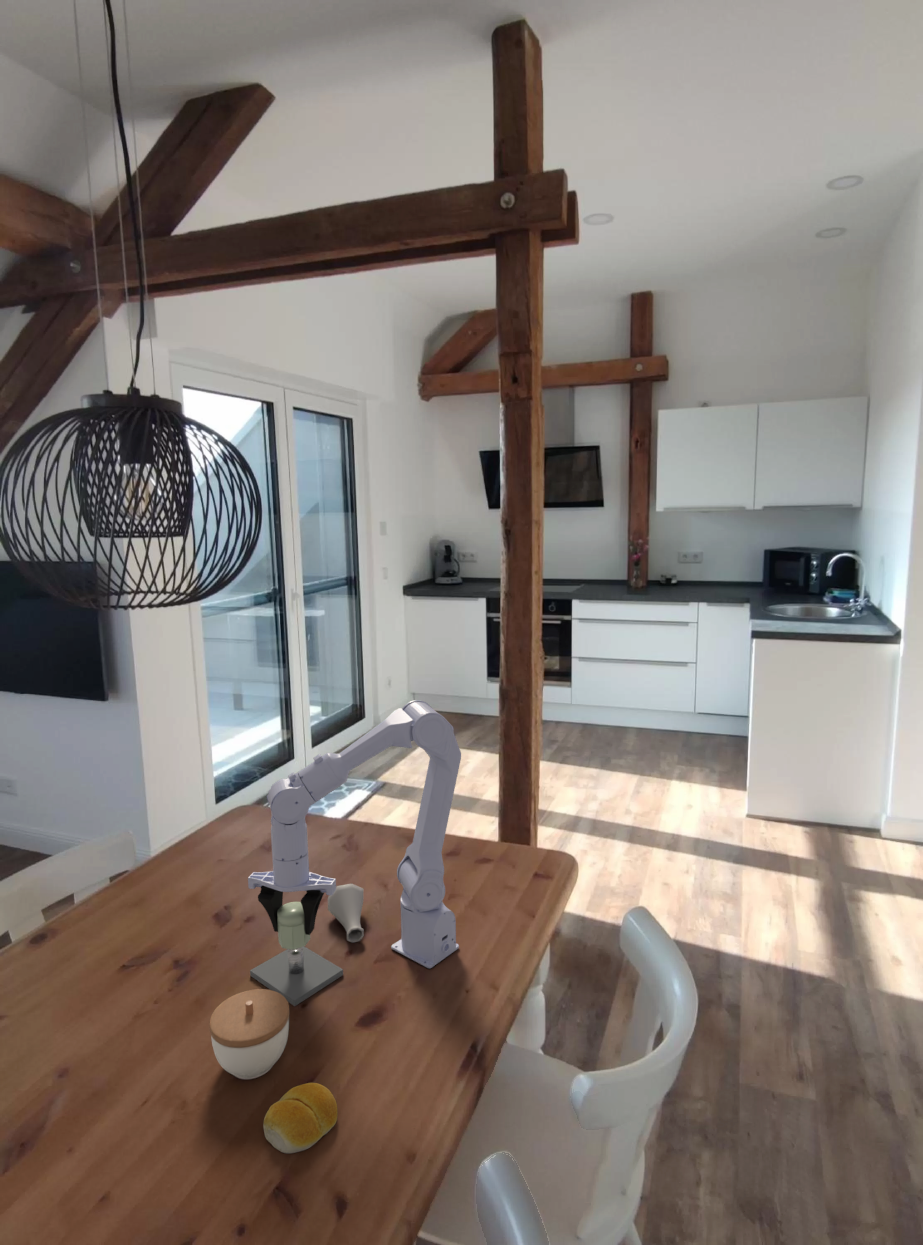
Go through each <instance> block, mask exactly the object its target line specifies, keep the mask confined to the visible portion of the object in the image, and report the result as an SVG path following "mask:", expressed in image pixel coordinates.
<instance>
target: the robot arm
mask: <svg viewBox="0 0 923 1245" xmlns="http://www.w3.org/2000/svg"><path fill="white" fill-rule="evenodd" d="M412 742H414V743H415V744H416V745H417V746H418V747H419V748H421V749H422V750H424V752H425V753H426V755H427V756H428V757H429V762H428V766H427V771H426V776H425V781H424V785H423V791H422V794H421V801H420V806H419V808H418V809H419V810H418V815H417V819H416V824H415V830H414V834H413V839H412V843H410V844H409V845H408V846H407V847H406V849H405V854H404V857H403V858H402V860H401V861H400V863H399V864H398V866H397V869H396V877H397V879H398V882H399V883H400V884H401V885H402V888H403V889H402V892H401V895H400V927H401V928H400V932H401V934H400V935H401V938H400V939H399V940H398V941H396V942H394V943H392V945H391V946H390V947H391V948H390V949H391V950H393V951H395V952H397V953H399V954H401V955H403V956H404V957H406V958H408V959H410V960H412V961H413V962H416V963H418V964H419V965H421V966H423V967H425V968H427V969H432V968H434V967H435V965H437V964H439V963H440V962H441V961H443V960H444V959H446V958H447V957H449V956H450V955H452V953H454V952H455V951H457V950H458V949H459V948H460V945H459V943H457V927H456V924H457V922H456V920H457V918H456V915H455V913H454V912H453V911H452V910H451V909H449V908H448V907H447V906H446V905H445V903H444V901H443V900H444V898H445V896H446V886H445V882H444V875H445V867H444V866H445V865H444V861H443V855H442V853H443V852H442V851H443V847H444V841H445V837H446V832H447V828H448V822H449V819H450V818H449V817H450V812H451V807H452V803H453V798H454V794H455V789H456V788H455V787H456V784H457V779H458V775H459V771H460V765H461V761H462V760H461V759H462V752H461V749H460V746H459V744H458V741H457V738H456V735H455V733H454V726H453V725H452V724H451V723H450V722H449V721H448V720H447V719H446V717H444V715H442V714H441V713H439V712H437V711H436V710H435V709H434V708H433V707H432V706H431V705H430V704H429V703H428V702H426V701H424V700H420V699H415V700H411V701H408V702H406V704H404V706H402V708H401V707H399V708H396V709H395V710H393V711H392V712H391V713H390V714H389V715H388V716H387V717H386V718H385V719H384V720H382V721H381V722H380V723H379V724H378V723H377V725H375V727H373V728H372V729H369V731H368V732H367V733H365V734H364V735H362V736H361V737H359V738H358V739H357V740H355V741H354V742H352V743H351V744H350V745H348V747H346V748H344V749H343V750H342V751H340V752H338V753H335V752H326V753H324V754H323V755H322V754H321V753H318V754H317V755H315V756H314V757H313V760H314V761H313V762H311V763H310V764H308V765H306V766H305V767H303V768H302V769H300V770H299V771H298V772H296V773H294V772H291V773H290V774H289V775H288V776H287V777H288V778H281V779H279V780H277V781H275V782H274V783H273V784H272V785H271V786H270V788H269V790H268V793H267V795H266V800H267V803H268V805H269V807H270V812H271V814H270V815H271V817H270V825H271V827H270V839H271V840H270V841H271V854H272V855H271V856H272V871H263V872H262V871H261V872H259V871H258V872H257V871H253V872H252V873H251V874H250V875H249V876H248V877H247V884H248V886H247V887H248V889H251V890H254V889H256V888H260V891H259V892H260V893H259V894H258V895H257V900H258V902H259V903H260V904H261V905H262V907H263V908H264V910H265V911H266V913H267V915H268V918H269V920H270V922H271V925H272V927H273V931H274V932H276V933H278V923H277V920H278V916H277V911H278V909H279V908H280V907H281V906H282V905H283V903H284V901H283V900H284V899H283V898H284V893H292V892H293V893H295V892H306V893H305V894H304V895H303V897H302V898H301V899H300V902H301V904H302V907H303V911H304V917H305V933H306V935H310V936H311V934H312V933H313V931H314V930H315V924H316V919H317V918H316V917H317V913H318V910H319V907H320V904H321V902H322V899H323V897H324V894H326V896H329V895H333V893H334V892H335V890H336V886H337V879H336V878H333V877H328V876H324V875H320V874H318V873H315V872H312V871H310V866H309V865H310V862H309V860H310V858H309V842H308V824H307V823H306V816H307V815H308V813H309V809H310V807H311V806H312V805H314V804H316V803H317V802H319V801H321V799H323V798H324V797H326V796H328V795H329V794H330V793H332V792H334V791H335V790H337V789H338V788H339V787H341V786H343V785H344V784H345V783H347V780H348V777H349V774H350V772H351V771H352V770H354V769H355V768H357V767H360V766H361V765H362V764H364V763H365V762H367V761H368V760H370V759H372V758H374V757H376V756H377V755H379V754H380V753H382V752H384V751H386V750H387V749H389V748H391V747H396V748H405V749H406V748H407V749H412V748H413V745H412Z"/></svg>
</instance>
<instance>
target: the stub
mask: <svg viewBox="0 0 923 1245" xmlns="http://www.w3.org/2000/svg"><path fill="white" fill-rule="evenodd" d="M288 964H289V973H290V974H293V975H297V974H300V973H302V972H303V971H304V956H303V948H302V947H300V948H297V949H294V950H291V949H289V950H288Z"/></svg>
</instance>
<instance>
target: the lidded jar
mask: <svg viewBox="0 0 923 1245" xmlns="http://www.w3.org/2000/svg"><path fill="white" fill-rule="evenodd" d="M208 1026H209V1032H210V1037H211V1038H210V1039H211V1045H212V1049H213V1053H214V1056H215V1058H216V1060H217V1062H218V1064H219V1066H221V1067H222V1069H223V1070H224V1071H226V1072H227V1073H229V1074H231V1075H232V1076H233V1077H234V1078H237V1079H240V1080H244V1081H245V1080H254V1079H256V1078H260V1077H262V1076H264V1075H265V1074H266V1073H268V1072H269V1071H270V1070H271V1069H272V1068H273V1066H274V1065H275V1064H276V1063H277V1062H278V1060H280V1058H281V1056H282V1054H283V1053H284V1050H285V1048H286V1046H287V1043H288V1038H289V1032H290V1030H289V1029H290V1003H289V1002H288V1001H287V1000H286V998H285V997H284V996H283V995H281V994H280V993H278V992H276V991H273V990H270V989H269V988H268V989H267V988H266V989H265V988H255V989H248V990H245V991H241V992H238V993H236V994H234V995H232V996H229V997H228V998H226V999H224V1001H222V1002H221V1003H220V1004H219V1005H217V1007H216V1008H215V1009H214V1010H213V1012H212V1014H211V1015H210V1018H209V1025H208Z"/></svg>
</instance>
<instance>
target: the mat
mask: <svg viewBox="0 0 923 1245" xmlns="http://www.w3.org/2000/svg"><path fill="white" fill-rule="evenodd" d="M302 948H303V956H304V971H303V972H302V973H300V974H297V975H293V974H290V973H289V964H288V950H289V949H284V950H283V951H281V952H280V953H278V954H275V956H273V957H271V958H270V959H268V960H266V961H264V962H262V963H261V964H259V965H257V966H255V967H254V968H252V969H250V970H249V975H250V977H251V978H253V979H254V980H256V981H257V982H259V983H260V984H262V985H263V986H264V987H266V989H267V988H268V990H273V991H276V992H278V993H280V994H281V995H283V996H284V997H285V998H286V1000H287V1001H288V1004H289V1005H290V1004H291V1006H293V1007H296V1006H298V1005H299V1004H301V1003H303V1002H304V1001H305V1000H307V999H308V998H310V997H312V996H313V995H314V994H316V993H317V992H319V991H321V990H322V989H324V988H325V987H328V986H329V985H331V984H332V983H333V982H335V981H336V980H338V979H340V977H343V976H344V969H343V968H341V967H340V966H338V965H336V964H335V963H333V962H332V961H331V960H329V959H326V958H325V957H323V956H321V955H319V954H318V953H316V952H314V951H313V950H311V949H310V948H308V947H306V945H305V946H303V947H302Z"/></svg>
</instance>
